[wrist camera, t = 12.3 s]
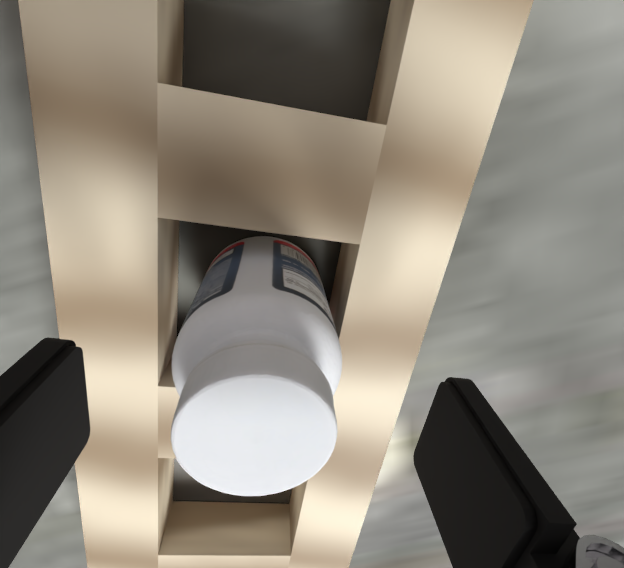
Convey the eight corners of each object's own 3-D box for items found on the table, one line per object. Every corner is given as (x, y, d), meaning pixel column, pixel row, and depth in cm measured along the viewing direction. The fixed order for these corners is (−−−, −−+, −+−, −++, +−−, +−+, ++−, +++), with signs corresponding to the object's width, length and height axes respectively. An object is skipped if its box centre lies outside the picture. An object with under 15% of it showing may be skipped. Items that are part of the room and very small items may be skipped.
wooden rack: (42, -419, 9) (-65, -670, 6) (554, -233, 11) (649, -355, 8) (113, 537, 22) (91, 595, 20) (333, 540, 24) (340, 592, 22)
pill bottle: (214, 340, 18) (159, 525, 9) (197, 236, 15) (109, 358, 7) (322, 333, 18) (359, 505, 10) (320, 230, 16) (366, 340, 8)
